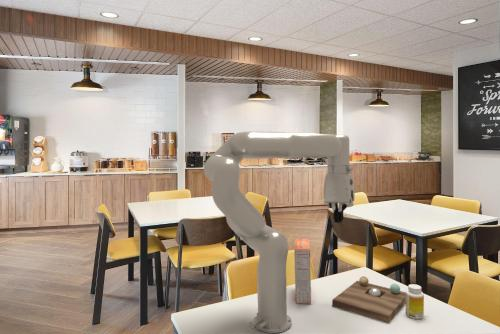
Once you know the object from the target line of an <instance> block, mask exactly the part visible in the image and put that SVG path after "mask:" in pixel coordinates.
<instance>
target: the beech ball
mask: <svg viewBox="0 0 500 334" xmlns="http://www.w3.org/2000/svg"><path fill="white" fill-rule="evenodd" d="M358 281H359V282H360V284H361V285H363V286H365V285H367V284H368V283H370V282H369V278H368V277H366V276H364V275H363V276H360V277H359V280H358Z"/></svg>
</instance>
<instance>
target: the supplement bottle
mask: <svg viewBox="0 0 500 334" xmlns="http://www.w3.org/2000/svg"><path fill="white" fill-rule="evenodd" d="M405 292H406V303H405V315H406V316H407V317H409V318H410V319H415V320H421V319H423V318H424V315H425V314H424V312H425V310H424V309H425V308H424V307H425V306H424V305H425V304H424V302H425V296H424V295H425V294H424V293H423V291H422V286H421V285H418V284H413V283H411V284H408V289H407V290H406V291H405Z"/></svg>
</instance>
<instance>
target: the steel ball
mask: <svg viewBox="0 0 500 334" xmlns="http://www.w3.org/2000/svg"><path fill="white" fill-rule="evenodd" d="M368 294H369V295H373V296H377V297H381V292H380V290H379V289H377V288H371V289H370V290H369V293H368Z"/></svg>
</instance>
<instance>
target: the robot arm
mask: <svg viewBox="0 0 500 334" xmlns="http://www.w3.org/2000/svg"><path fill="white" fill-rule="evenodd" d="M300 158H301V159H302V158H303V159H304V158H326V159H327V161H326V162H327V163H326V164H327V165H326V167H327V168H326V170H327V171H326V173H325V177H324V182H323V200H324V202H323V204H324V205H327V206H329V207H330V209H331V210H332V212H333V220H334V222H333V223H337V224H340V223H342V222H343V220H344V211H345V210H346V209H347V208H351V207H354V202H355V198H356V196H355V193H356V192H355V185H354V179H353V174H351V172H354V168H353V167H352V166H351V165H350V137H349V136H348V135H346V134H333V133H331V134H330V133H302V132H301V133H299V132H284V131H242V132H241V131H239V132H236V133H234V134H233V135H232V136H231V137H229V138H228V139H227V140H226V141H225V142H224V143H223V144H222V145H221V146H220V147H219V148H217V150H216V151H214V152H213V153H212V154H211V155H210V156H209V157H208V158H207V160H206V161H205V162H204V166H203V174H204V175H205V177H206V178H207V179H208V180H209V181H211V182H212V183H211V196H212V199H213V202H214V204H215V206H216V208H218V210H219V211H220V212H221V213H222V214H223V215H224V216H225V219H226V223H227V224H228V225H227V226H229V228H230V229H231V231H233V232H234V233H235V235H237V237H239V238H240V239H241V241H243V243H245V244H246V245H247V246H248V247H249V248H251V250H253V251H254V252H256V253H257V254H258V255H259V258H258V262H257V267H256V283H257V285H256V286H257V287H256V288H257V289H256V290H257V291H256V292H257V313H256V315H255V316H254V318H253V319H252V320H251V321H250V322H249V323H248V325H249V327H250V328H251V329H254V328H256V329H257V330H258V331H261V332H262V333H263V332H264V333H267V334H278V333H282V332H285V331H287V330H289V329H290V328H291V327H292V324H293V323H292V322H293V321H292V318H291V317H290V316H289V315H288V310H287V308H288V306H287V260H288V254H289V242H288V239H287V237H286V236H285V234H284V233H282V232H281V231H280V230H278V229H275V228H273V227H271V226H269V225H267V224H266V222H265V221H266V220H265V218H264V215H263V214H262V213H261V211H260V210H259V209H257V208H256V207H255V206H254V204H252V203H251V202H250V200H249V199H247V198H246V196H245V195H244V194H243V192H242V191H241V190H240V186H239V185H240V184H239V183H240V177H241V167H240V165H239V164H240V163H241V162H242V160H243V159H250V160H252V159H255V160H256V159H258V160H260V159H300Z"/></svg>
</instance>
